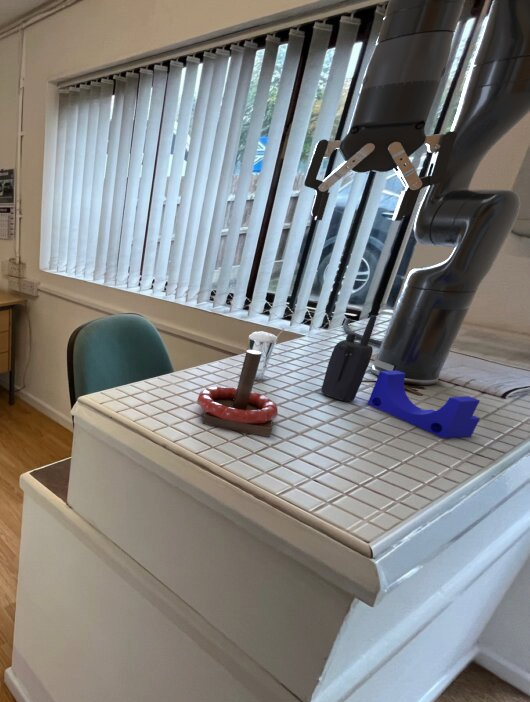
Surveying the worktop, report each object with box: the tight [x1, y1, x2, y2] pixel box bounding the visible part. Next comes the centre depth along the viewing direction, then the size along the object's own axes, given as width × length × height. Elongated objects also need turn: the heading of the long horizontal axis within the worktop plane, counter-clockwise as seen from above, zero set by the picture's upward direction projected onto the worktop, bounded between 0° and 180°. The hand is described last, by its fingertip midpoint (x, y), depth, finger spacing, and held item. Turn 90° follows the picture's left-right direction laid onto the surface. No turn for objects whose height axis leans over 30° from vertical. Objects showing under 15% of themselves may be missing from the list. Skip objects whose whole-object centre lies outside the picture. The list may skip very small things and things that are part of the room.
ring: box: [196, 386, 278, 423], centre depth 74 cm, size 11×11×2 cm
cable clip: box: [367, 370, 481, 439], centre depth 72 cm, size 12×4×6 cm, turn 5°
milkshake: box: [246, 327, 285, 381], centre depth 88 cm, size 4×5×10 cm
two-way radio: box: [320, 314, 378, 402], centre depth 78 cm, size 6×4×15 cm
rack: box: [202, 350, 273, 438], centre depth 72 cm, size 9×9×12 cm
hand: (355, 220), depth 64 cm, fingers open, 8 cm apart
